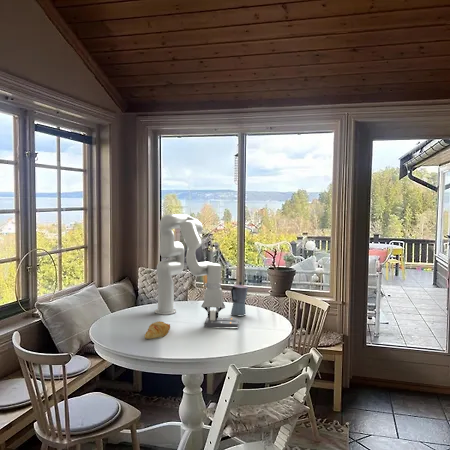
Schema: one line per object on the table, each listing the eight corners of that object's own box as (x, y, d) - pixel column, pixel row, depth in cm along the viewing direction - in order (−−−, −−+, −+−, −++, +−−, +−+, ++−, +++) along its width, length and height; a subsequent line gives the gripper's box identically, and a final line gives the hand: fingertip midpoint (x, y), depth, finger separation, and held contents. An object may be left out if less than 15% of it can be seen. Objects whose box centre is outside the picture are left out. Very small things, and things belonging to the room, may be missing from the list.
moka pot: (251, 313, 279) (252, 281, 278) (238, 319, 266) (239, 285, 265) (238, 311, 285) (238, 279, 283) (224, 316, 272) (225, 283, 270)
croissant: (150, 348, 222) (156, 335, 220) (135, 336, 225) (141, 323, 223) (173, 336, 241) (179, 323, 239) (158, 324, 244) (164, 312, 242)
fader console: (206, 321, 260) (206, 316, 260) (238, 322, 258) (238, 318, 258) (204, 327, 248) (204, 322, 248) (237, 328, 247) (237, 323, 246)
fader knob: (210, 321, 256) (210, 309, 255) (215, 321, 255) (216, 309, 255) (209, 323, 252) (210, 311, 251) (215, 323, 251) (215, 311, 251)
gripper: (198, 286, 249) (197, 320, 250) (228, 288, 248) (227, 321, 249) (199, 284, 257) (199, 316, 258) (229, 285, 255) (228, 318, 257)
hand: (212, 318), depth 253 cm, fingers closed on fader knob, 3 cm apart
